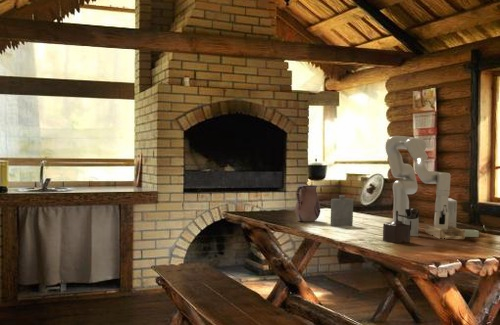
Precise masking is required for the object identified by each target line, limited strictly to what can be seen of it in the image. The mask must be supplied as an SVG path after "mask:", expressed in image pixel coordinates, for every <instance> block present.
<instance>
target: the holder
mask: <svg viewBox="0 0 500 325" xmlns="http://www.w3.org/2000/svg"><path fill="white" fill-rule="evenodd" d="M462 230H465V238H469V237H470V238H479V237H480V230H476V229H466V228H464V229H463V228H462Z"/></svg>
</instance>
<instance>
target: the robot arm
mask: <svg viewBox="0 0 500 325" xmlns="http://www.w3.org/2000/svg"><path fill="white" fill-rule="evenodd" d="M426 148H427V143H426V141H425V140H424V139H423V138H419V137H413V136H404V135H392V136H390V137H389V138H388V139H387V140H386V142H385V152H386V155H387V157H388V164H389V167H390V171H391V175H392V177H393V178H395V179H397V180H395V181H394V182H393V184H392V193H393V210H392V212H393V213H392V214H393V215H392V218H393V219H392V220H391V221H389V222H387V221H385V223H384V224H386V223H391V222H393V221H396V211H398V214H399V215H402V214H403V213H404V212H405V209H410V199H409V196H408V195H414V194H415V193H417V191H418V189H419V188H418V187H419V186H418V180H417V177H418V178H419V179H420V181H421V182H422V183H424V184H431V185H432V184H435V185H436V190H435V191H436V192H435V193H436V194H435V195H436V196H435V197H436V198H435V202H434V203H435V204H434V212H440V218H439V224H445V215H446V213H447V212H448V198H449V197H450V193H451V192H450V191H451V174H450V173H449V172H441V171H434V170H431V171H430V170H428V168H427V167H426V165H425V162H426V161H427V160H428V157H429V156H428V154H427V152H426ZM399 150H406V151H407V152H408V153H409V155H410V156H411V158H412V160H413V161H414V168H415V169H414V168H413V166H412V165H411V164H410V163H404V161H403V157H402V154H401V152H400V151H399ZM416 175H417V177H416ZM403 215H404V216H405V213H404V214H403ZM398 221H402V217H401V216H398ZM403 222H404V224H405V217H403Z"/></svg>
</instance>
